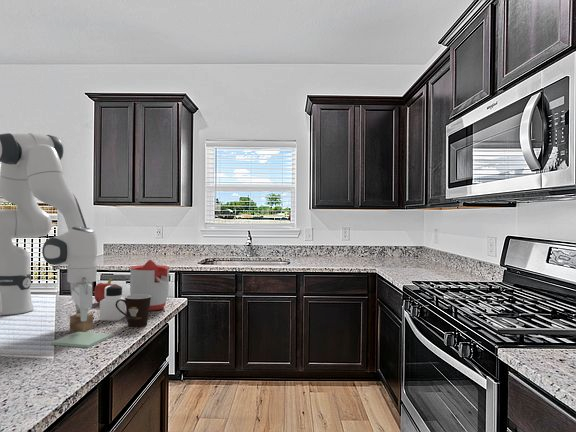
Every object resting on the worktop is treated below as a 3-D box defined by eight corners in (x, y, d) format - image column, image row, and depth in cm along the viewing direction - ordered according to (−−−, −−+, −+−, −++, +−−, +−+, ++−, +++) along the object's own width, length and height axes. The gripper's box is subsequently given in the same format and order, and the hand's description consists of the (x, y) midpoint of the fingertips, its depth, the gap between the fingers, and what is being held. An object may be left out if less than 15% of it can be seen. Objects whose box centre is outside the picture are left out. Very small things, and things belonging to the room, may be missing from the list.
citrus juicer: (147, 315, 173) (148, 263, 172) (121, 308, 183) (122, 259, 183) (179, 309, 185) (180, 260, 185) (153, 303, 196) (154, 256, 195)
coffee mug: (155, 324, 159) (156, 296, 159) (136, 329, 152) (136, 299, 152) (133, 319, 165) (133, 292, 165) (113, 324, 158) (113, 295, 158)
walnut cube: (69, 331, 148) (69, 316, 148) (79, 327, 153) (79, 313, 153) (83, 332, 147) (83, 317, 147) (92, 328, 152) (92, 313, 152)
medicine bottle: (125, 316, 170) (126, 284, 170) (119, 320, 163) (119, 287, 163) (106, 316, 170) (107, 284, 170) (99, 320, 163) (99, 287, 163)
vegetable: (99, 300, 198) (100, 277, 198) (123, 300, 199) (124, 278, 199) (90, 305, 187) (90, 281, 187) (115, 305, 188) (116, 281, 188)
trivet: (51, 344, 133) (51, 341, 133) (77, 334, 145) (77, 331, 145) (88, 347, 131) (88, 345, 131) (111, 336, 143) (111, 334, 142)
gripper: (98, 279, 142) (97, 323, 142) (87, 272, 160) (86, 311, 160) (76, 280, 139) (75, 325, 139) (67, 273, 156) (66, 313, 156)
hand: (81, 317), depth 149 cm, fingers open, 8 cm apart
